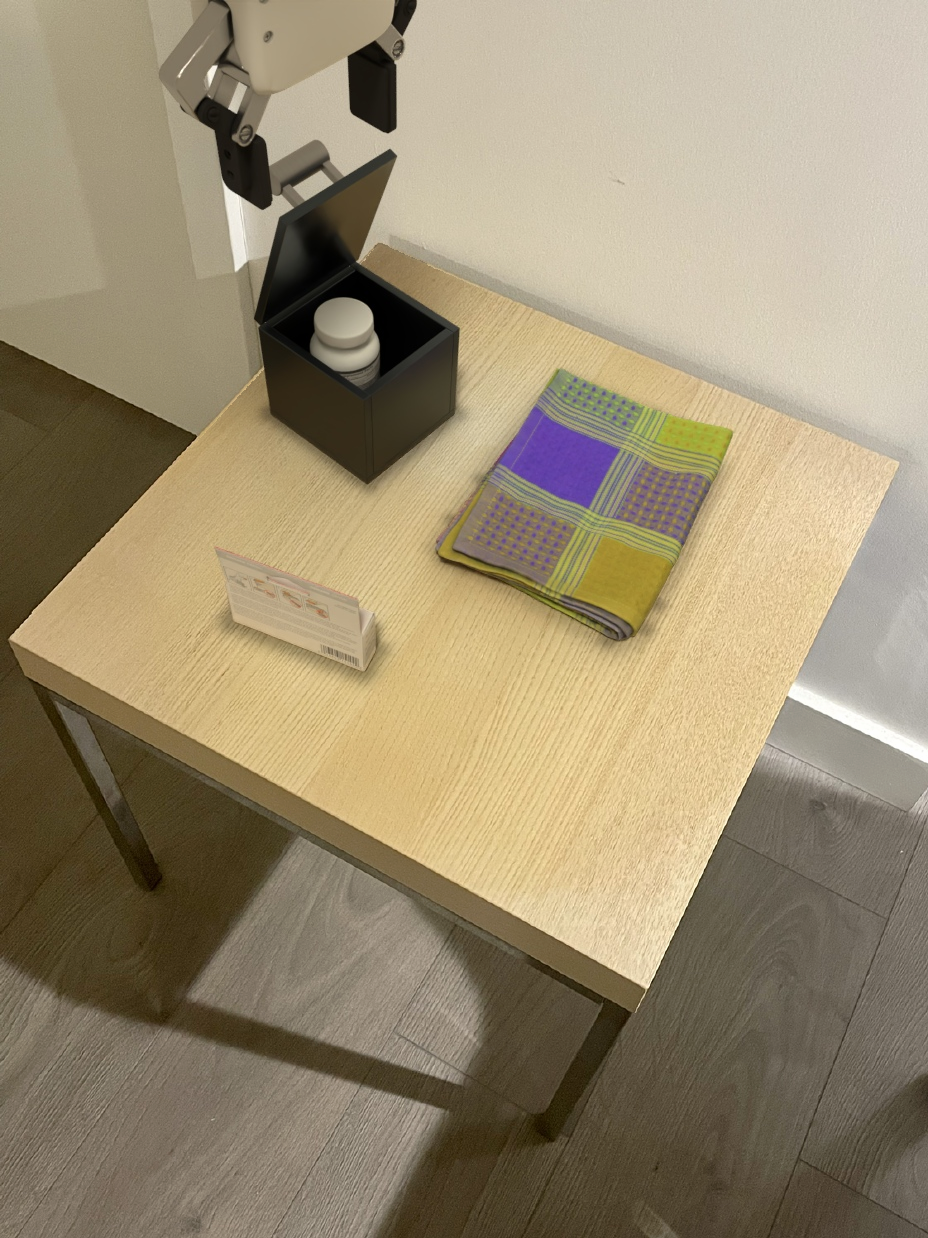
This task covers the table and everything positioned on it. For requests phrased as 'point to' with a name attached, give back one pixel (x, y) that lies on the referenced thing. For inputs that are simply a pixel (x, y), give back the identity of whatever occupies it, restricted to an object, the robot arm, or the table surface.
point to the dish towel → (589, 504)
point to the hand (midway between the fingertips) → (313, 158)
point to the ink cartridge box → (298, 611)
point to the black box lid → (318, 224)
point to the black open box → (390, 407)
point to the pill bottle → (347, 340)
